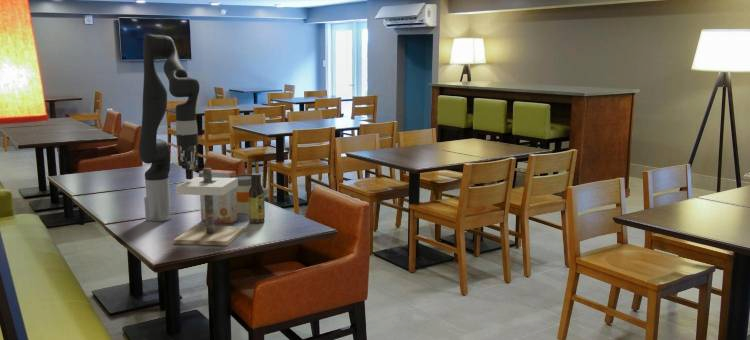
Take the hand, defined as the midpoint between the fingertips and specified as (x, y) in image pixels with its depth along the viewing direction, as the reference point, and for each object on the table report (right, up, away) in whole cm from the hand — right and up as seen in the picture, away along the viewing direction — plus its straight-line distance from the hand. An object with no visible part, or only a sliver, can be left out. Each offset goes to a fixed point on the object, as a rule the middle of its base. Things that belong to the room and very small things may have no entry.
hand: (189, 179), depth 232 cm
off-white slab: (+7, -4, 0) cm, 8 cm away
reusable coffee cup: (+12, -15, +43) cm, 47 cm away
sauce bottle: (+21, -18, +24) cm, 37 cm away
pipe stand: (+7, -22, +3) cm, 23 cm away
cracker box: (+5, -18, +26) cm, 32 cm away
